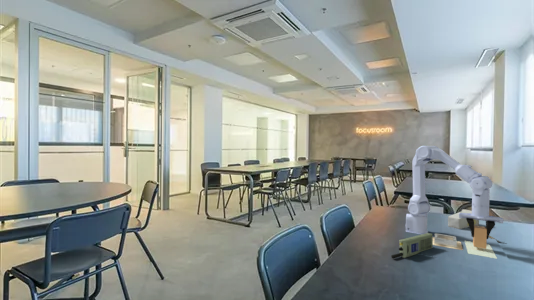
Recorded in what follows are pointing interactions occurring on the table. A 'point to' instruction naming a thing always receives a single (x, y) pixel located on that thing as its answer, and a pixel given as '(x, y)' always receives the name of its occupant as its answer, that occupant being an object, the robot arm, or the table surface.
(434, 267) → the table surface
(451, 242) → the grey square ring
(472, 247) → the mat
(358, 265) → the table surface
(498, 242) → the adjustable wrench
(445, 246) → the base plate
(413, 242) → the handheld radio
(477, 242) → the plug
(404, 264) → the table surface
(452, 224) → the block
